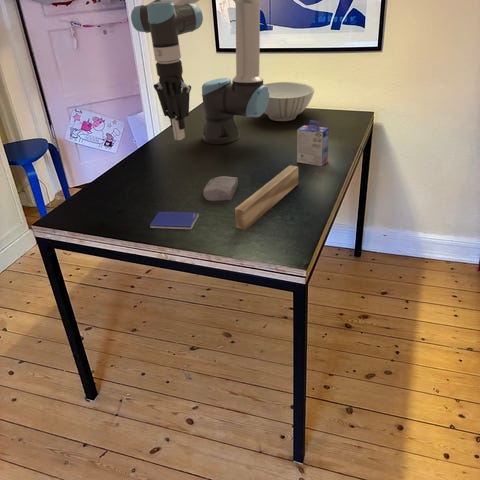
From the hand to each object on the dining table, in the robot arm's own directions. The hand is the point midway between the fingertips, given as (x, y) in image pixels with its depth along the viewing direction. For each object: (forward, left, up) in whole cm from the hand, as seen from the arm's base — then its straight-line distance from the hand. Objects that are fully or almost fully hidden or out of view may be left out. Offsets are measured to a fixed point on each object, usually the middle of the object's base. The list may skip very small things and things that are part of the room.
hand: (179, 138), depth 151 cm
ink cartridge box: (+30, +34, -17) cm, 48 cm away
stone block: (+13, 0, -17) cm, 22 cm away
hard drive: (+12, -21, -17) cm, 30 cm away
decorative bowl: (-4, +74, -16) cm, 76 cm away
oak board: (+32, 0, -16) cm, 36 cm away
